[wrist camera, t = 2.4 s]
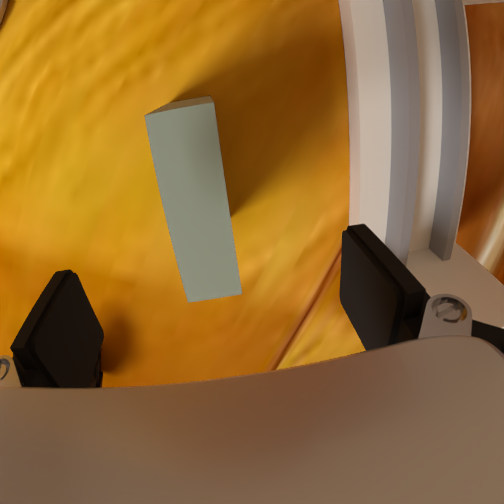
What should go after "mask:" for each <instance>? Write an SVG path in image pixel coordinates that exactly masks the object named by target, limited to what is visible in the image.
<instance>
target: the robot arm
mask: <svg viewBox="0 0 504 504" xmlns="http://www.w3.org/2000/svg"><path fill="white" fill-rule="evenodd" d="M7 2H8V0H0V24H1V21H2V19H3V16H4V13H5V10H6V6H7ZM340 301H341V304H342V306H343V308H344V310H345V312H346V314H347V315H348V317H349V319H350V321H351V323H352V325H353V327H354V328H355V330H356V332H357V334H358V336H359V338H360V340H361V342H362V344H363V346H364V348H365V350H366V351H363V352H360V353H355V354H351V355H347V356H343V357H338V358H334V359H329V360H325V361H320V362H315V363H310V364H305V365H300V366H295V367H290V368H284V369H279V370H273V371H267V372H261V373H254V374H248V375H241V376H234V377H227V378H219V379H211V380H202V381H193V382H183V383H172V384H160V385H146V386H129V387H105V388H89V386H90V383H91V379H92V376H93V372H94V368H95V365H96V362H97V358H98V355H99V352H100V348H101V345H102V342H103V338H104V334H103V330H102V328H101V326H100V324H99V321H98V319H97V317H96V315H95V313H94V311H93V309H92V307H91V305H90V302H89V300H88V298H87V296H86V294H85V291H84V289H83V287H82V284H81V282H80V280H79V277H78V275H77V274H76V273H73V272H72V271H71V270H70V269H69V270H63V271H57V272H55V274H54V275H53V277H52V278H51V280H50V281H49V283H48V284H47V286H46V287H45V289H44V290H43V292H42V294H41V295H40V297H39V298H38V300H37V302H36V303H35V305H34V307H33V308H32V310H31V312H30V313H29V315H28V317H27V318H26V320H25V322H24V324H23V325H22V327H21V329H20V331H19V332H18V334H17V336H16V338H15V340H14V342H13V343H12V345H11V347H10V349H11V350H12V352H13V353H14V355H15V356H14V358H13V359H12V357H10V356H8V355H2V356H0V504H504V329H503V328H500V327H496V326H493V325H490V324H486V323H483V322H479V321H476V320H473V319H472V310H471V308H470V306H469V305H468V304H467V303H466V302H465V301H464V300H463V299H461V298H459V297H457V296H455V295H452V294H437V295H435V296H432V297H430V296H429V294H428V293H427V292H426V289H425V288H424V287H423V285H422V284H421V283H420V282H419V281H418V280H417V279H416V277H415V276H414V275H413V274H412V273H411V272H410V271H409V270H408V269H407V268H406V266H405V265H404V264H403V263H402V262H401V261H400V260H399V259H398V258H397V257H396V256H395V255H394V253H393V252H392V251H391V250H390V249H389V248H388V247H387V246H386V245H385V244H384V243H383V242H382V241H381V240H380V239H379V238H378V237H377V236H376V235H375V234H374V233H373V232H372V231H371V230H370V229H369V228H368V227H367V226H366V225H365V224H357V225H350V226H348V227H347V230H345V231H343V233H342V257H341V279H340Z"/></svg>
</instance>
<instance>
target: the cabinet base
mask: <svg viewBox="0 0 504 504" xmlns="http://www.w3.org/2000/svg"><path fill="white" fill-rule="evenodd" d="M500 2H504V0H339V7H340V15H341V23H342V32H343V41H344V51H345V63H346V75H347V90H348V109H349V136H350V209H349V226H350V225H357V224H365V225H366V226H367V227H368V228H369V229H370V230H371V231H372V232H373V233H374V234H375V235H376V236H377V237H378V238H379V239H380V240H381V241H382V242H383V243H384V244H385V245H386V246H387V247H388V248H389V249H390V250H391V251H392V252H393V253H394V255H395V256H396V257H397V258H398V259H399V260H400V261H401V262H402V263H403V264H404V265H405V266H406V268H407V269H408V270H409V271H410V272H411V273H412V274H413V275H414V276H415V277H416V279H417V280H418V281H419V282H420V283H421V284H422V285H423V287H424V288H425V289H426V292H427V293H428V294H429V296H430V297H432V296H435V295H437V294H452V295H455V296H457V297H459V298H461V299H463V300H464V301H465V302H466V303H467V304H468V305H469V306H470V308H471V310H472V319H473V320H476V321H479V322H483V323H486V324H490V325H493V326H496V327H500V328H503V329H504V285H503V284H502V283H501V282H499V281H498V280H497V279H496V278H495V277H494V276H493V275H492V274H491V273H490V272H489V271H488V270H487V269H485V268H484V267H483V266H482V265H481V264H480V263H479V262H478V261H476V260H475V259H474V258H473V257H472V256H471V255H470V254H468V253H467V252H466V251H465V250H464V249H463V248H461V247H460V246H459V245H458V244H457V243H456V237H457V232H458V227H459V221H460V216H461V210H462V204H463V197H464V191H465V183H466V175H467V166H468V156H469V143H470V126H471V66H470V50H469V38H468V28H467V20H466V13H465V6H464V5H470V4H482V3H500Z"/></svg>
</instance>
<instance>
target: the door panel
mask: <svg viewBox="0 0 504 504" xmlns="http://www.w3.org/2000/svg"><path fill="white" fill-rule="evenodd" d="M145 121H146V126H147V131H148V137H149V142H150V147H151V152H152V157H153V162H154V167H155V172H156V176H157V181H158V186H159V190H160V195H161V199H162V203H163V208H164V212H165V216H166V220H167V225H168V229H169V233H170V237H171V241H172V245H173V249H174V253H175V256H176V260H177V264H178V268H179V271H180V275H181V279H182V282H183V286H184V290H185V293H186V297H187V300H188V302H195V301H201V300H208V299H214V298H220V297H226V296H233V295H239V294H242V290H241V283H240V277H239V271H238V264H237V258H236V251H235V245H234V238H233V232H232V225H231V218H230V212H229V205H228V198H227V191H226V184H225V178H224V171H223V164H222V157H221V150H220V143H219V135H218V128H217V121H216V114H215V106H214V102H213V100H212V98H211V96H205V97H199V98H193V99H187V100H181V101H176V102H171V103H168V104H166V105H164V106H162V107H160V108H158V109H156V110H154V111H152V112H150V113H148V114H146V115H145Z"/></svg>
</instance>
